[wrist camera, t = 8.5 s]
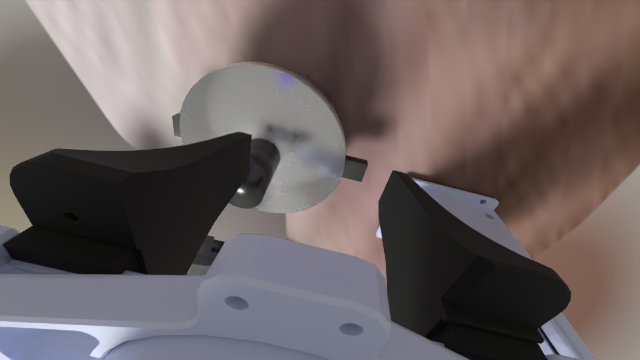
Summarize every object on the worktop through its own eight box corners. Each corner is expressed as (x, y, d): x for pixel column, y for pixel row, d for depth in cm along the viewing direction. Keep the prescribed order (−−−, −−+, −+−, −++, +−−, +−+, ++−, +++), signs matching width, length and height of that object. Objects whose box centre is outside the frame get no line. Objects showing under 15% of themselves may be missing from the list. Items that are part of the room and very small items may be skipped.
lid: (362, 73, 15) (363, 112, 10) (334, 206, 22) (327, 265, 17) (177, 44, 15) (95, 69, 10) (210, 185, 22) (170, 237, 18)
